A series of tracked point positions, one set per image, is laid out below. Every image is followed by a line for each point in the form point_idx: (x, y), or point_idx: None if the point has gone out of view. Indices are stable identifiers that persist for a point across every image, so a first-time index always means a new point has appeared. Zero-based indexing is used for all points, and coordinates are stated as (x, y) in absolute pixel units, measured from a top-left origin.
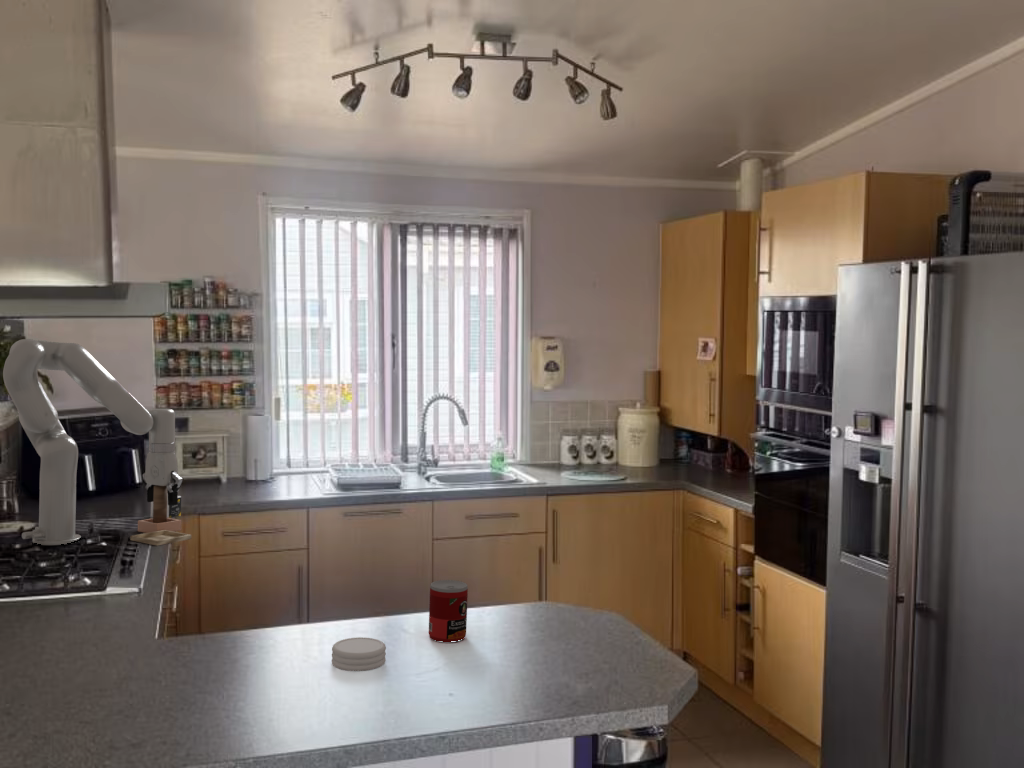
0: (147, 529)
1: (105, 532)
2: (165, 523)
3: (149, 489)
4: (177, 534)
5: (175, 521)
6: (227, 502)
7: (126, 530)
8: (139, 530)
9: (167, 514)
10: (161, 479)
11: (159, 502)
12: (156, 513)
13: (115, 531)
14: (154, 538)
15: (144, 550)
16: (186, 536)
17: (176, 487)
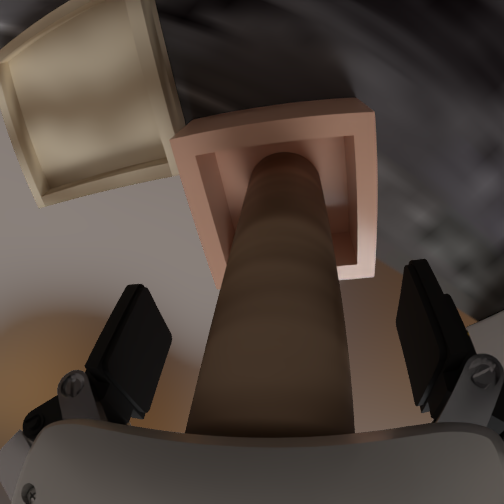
0: (268, 112)
1: (483, 24)
2: (188, 197)
3: (445, 365)
4: (88, 180)
5: (206, 257)
6: None
7: (461, 114)
8: (343, 101)
9: (476, 339)
10: (61, 496)
11: (228, 276)
12: (256, 205)
13: (475, 66)
14: (108, 78)
15: (3, 10)
16: (31, 185)
17: (34, 412)
